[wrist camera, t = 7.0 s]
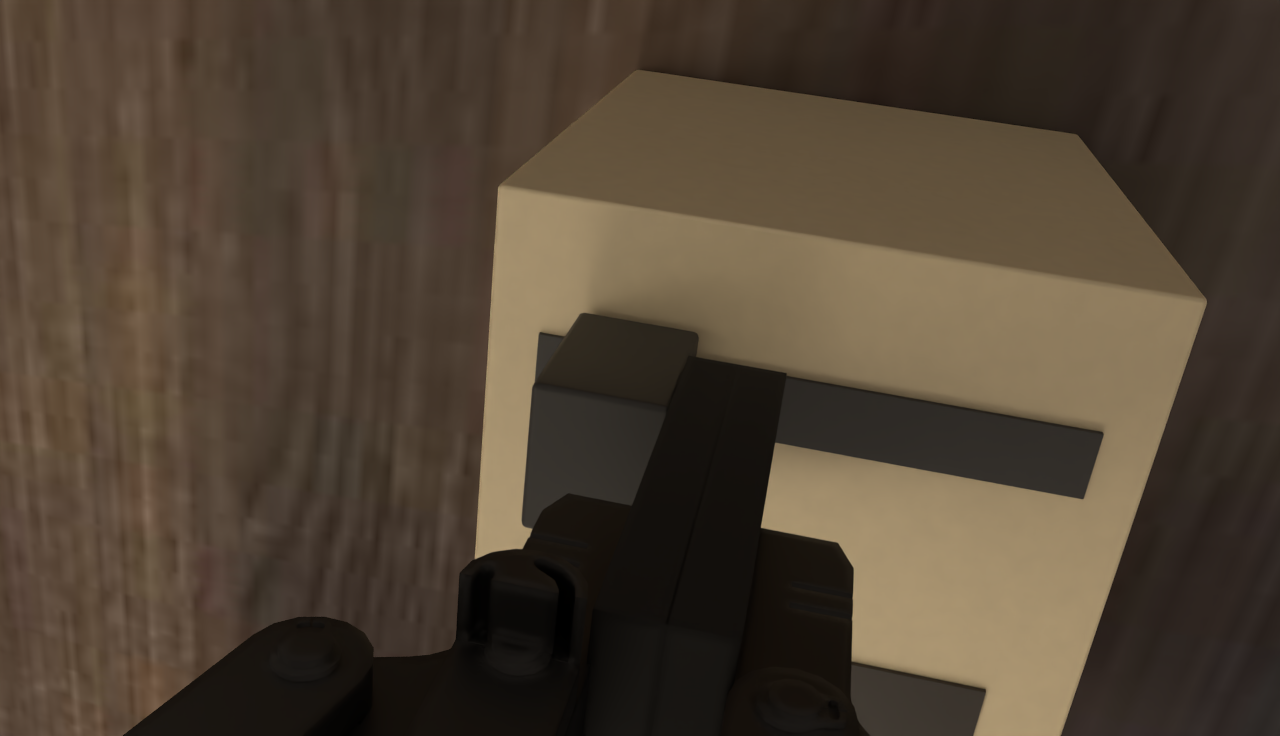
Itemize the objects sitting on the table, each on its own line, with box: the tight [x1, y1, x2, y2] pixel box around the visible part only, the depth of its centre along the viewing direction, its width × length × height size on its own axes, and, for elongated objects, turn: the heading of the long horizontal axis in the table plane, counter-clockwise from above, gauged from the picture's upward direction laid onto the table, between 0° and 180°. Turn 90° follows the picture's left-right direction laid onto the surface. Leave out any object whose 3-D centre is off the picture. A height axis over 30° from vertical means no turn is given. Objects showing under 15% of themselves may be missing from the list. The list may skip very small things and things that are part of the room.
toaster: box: [475, 70, 1207, 736], centre depth 26 cm, size 16×11×12 cm
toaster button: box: [521, 313, 699, 529], centre depth 18 cm, size 2×2×3 cm
